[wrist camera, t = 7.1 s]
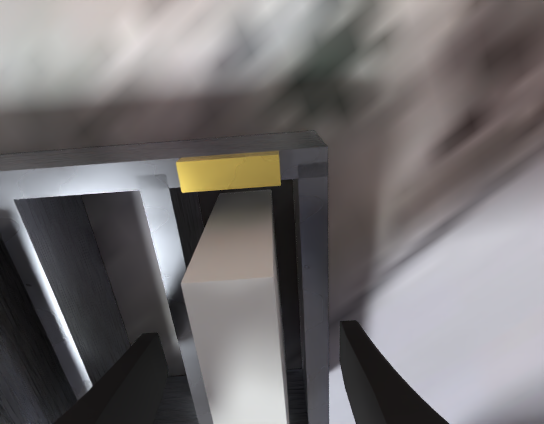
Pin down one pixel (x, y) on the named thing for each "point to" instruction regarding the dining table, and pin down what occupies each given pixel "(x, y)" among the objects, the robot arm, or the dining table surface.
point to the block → (239, 311)
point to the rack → (171, 258)
